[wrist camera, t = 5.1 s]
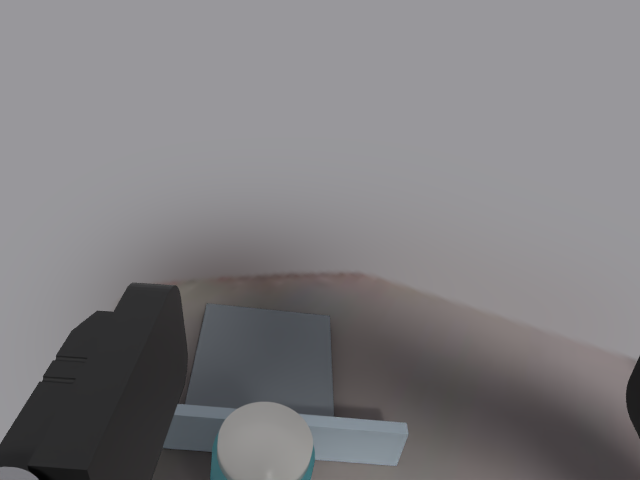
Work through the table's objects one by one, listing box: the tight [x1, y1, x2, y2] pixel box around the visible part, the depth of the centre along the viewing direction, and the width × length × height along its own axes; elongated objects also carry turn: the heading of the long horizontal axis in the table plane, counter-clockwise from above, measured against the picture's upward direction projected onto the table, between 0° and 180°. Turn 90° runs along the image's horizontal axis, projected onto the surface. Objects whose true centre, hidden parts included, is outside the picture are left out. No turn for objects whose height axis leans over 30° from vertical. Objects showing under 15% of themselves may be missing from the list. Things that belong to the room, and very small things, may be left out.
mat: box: [185, 303, 334, 417], centre depth 51 cm, size 12×13×1 cm
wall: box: [163, 404, 408, 466], centre depth 44 cm, size 18×1×4 cm, turn 91°
